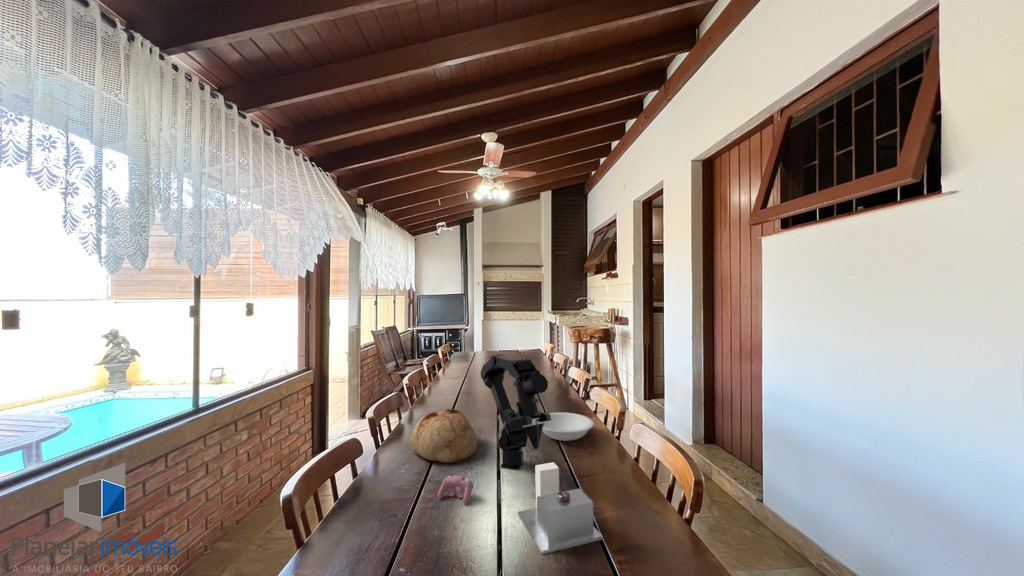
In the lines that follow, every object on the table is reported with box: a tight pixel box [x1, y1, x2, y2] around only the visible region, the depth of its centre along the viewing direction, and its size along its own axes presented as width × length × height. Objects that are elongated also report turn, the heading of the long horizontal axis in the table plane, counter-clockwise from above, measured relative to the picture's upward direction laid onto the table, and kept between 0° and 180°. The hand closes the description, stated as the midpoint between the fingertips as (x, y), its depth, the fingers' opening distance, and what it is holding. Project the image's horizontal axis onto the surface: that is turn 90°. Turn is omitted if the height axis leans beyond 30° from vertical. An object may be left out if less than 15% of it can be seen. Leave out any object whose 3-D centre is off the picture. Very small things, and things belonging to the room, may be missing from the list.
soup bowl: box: [540, 411, 595, 442], centre depth 156 cm, size 24×24×7 cm
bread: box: [409, 408, 478, 464], centre depth 144 cm, size 26×23×15 cm
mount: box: [517, 488, 603, 555], centre depth 97 cm, size 16×16×10 cm
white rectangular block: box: [534, 462, 560, 508], centre depth 100 cm, size 10×6×12 cm, turn 18°
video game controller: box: [437, 475, 474, 505], centre depth 111 cm, size 10×5×7 cm, turn 71°
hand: (536, 448), depth 117 cm, fingers closed
